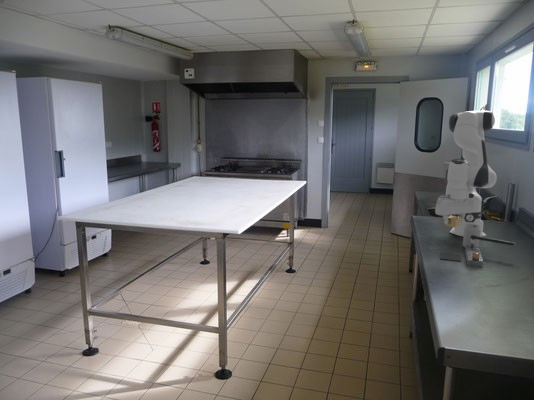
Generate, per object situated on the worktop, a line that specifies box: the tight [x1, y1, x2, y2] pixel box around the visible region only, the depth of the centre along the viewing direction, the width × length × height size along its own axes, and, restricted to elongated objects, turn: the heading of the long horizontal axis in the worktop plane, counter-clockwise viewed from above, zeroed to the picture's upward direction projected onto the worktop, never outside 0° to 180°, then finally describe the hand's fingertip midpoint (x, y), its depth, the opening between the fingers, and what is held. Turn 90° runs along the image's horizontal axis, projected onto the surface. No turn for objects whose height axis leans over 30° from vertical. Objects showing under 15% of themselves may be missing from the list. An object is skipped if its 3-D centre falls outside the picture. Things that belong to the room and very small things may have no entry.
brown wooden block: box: [445, 215, 461, 228], centre depth 197 cm, size 6×4×4 cm
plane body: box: [464, 239, 484, 269], centre depth 197 cm, size 24×6×7 cm, turn 158°
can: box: [462, 224, 481, 248], centre depth 215 cm, size 8×8×12 cm
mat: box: [439, 252, 462, 263], centre depth 200 cm, size 10×9×1 cm
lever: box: [470, 235, 516, 246], centre depth 201 cm, size 19×2×1 cm, turn 49°
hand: (453, 223), depth 197 cm, fingers closed on brown wooden block, 7 cm apart
